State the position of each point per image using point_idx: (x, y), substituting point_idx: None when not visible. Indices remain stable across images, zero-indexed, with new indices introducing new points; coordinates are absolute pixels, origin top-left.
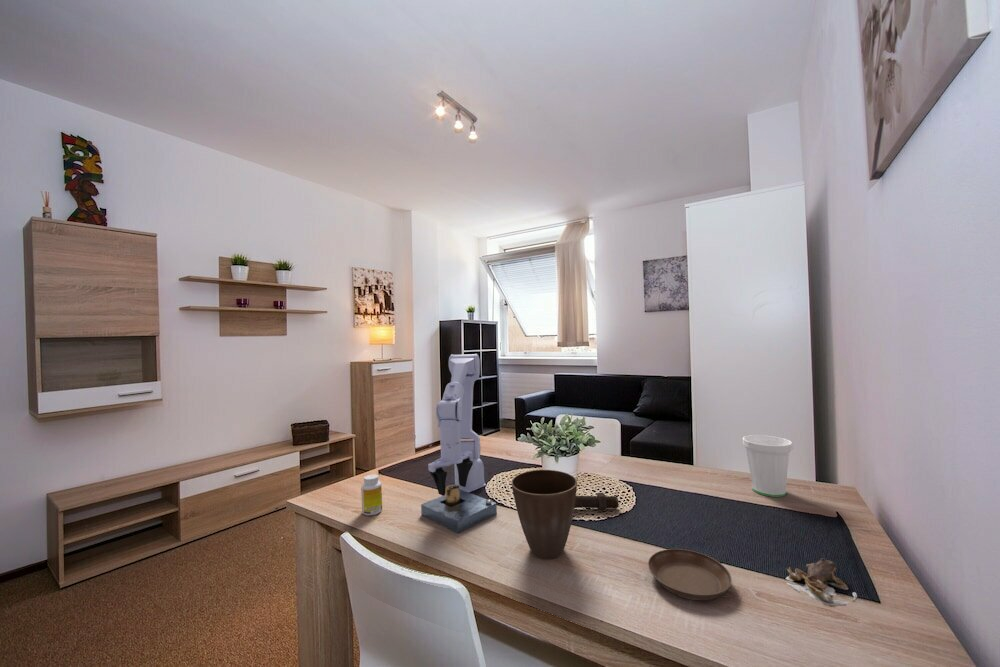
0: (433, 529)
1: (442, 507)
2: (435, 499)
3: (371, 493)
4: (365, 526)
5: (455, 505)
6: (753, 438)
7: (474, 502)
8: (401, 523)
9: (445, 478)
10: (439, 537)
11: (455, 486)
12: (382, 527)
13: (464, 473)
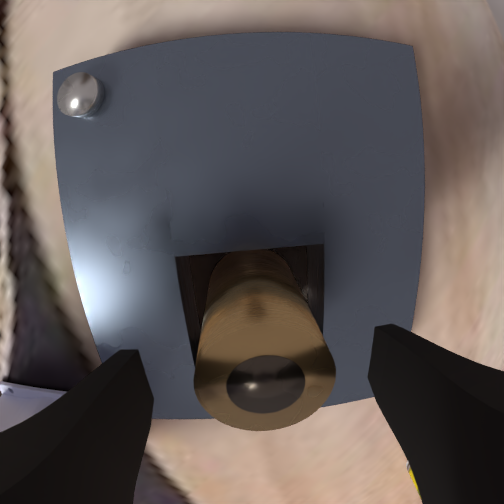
0: (434, 195)
1: (365, 283)
2: None
3: None
4: None
5: (286, 246)
6: None
7: (145, 183)
8: (458, 339)
9: (492, 400)
10: (452, 112)
11: (229, 381)
12: (492, 348)
13: (86, 444)
